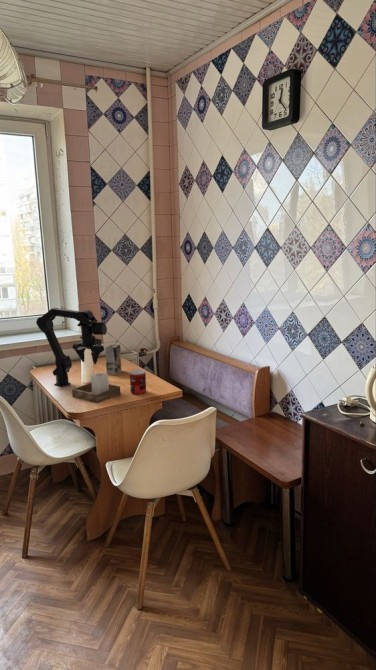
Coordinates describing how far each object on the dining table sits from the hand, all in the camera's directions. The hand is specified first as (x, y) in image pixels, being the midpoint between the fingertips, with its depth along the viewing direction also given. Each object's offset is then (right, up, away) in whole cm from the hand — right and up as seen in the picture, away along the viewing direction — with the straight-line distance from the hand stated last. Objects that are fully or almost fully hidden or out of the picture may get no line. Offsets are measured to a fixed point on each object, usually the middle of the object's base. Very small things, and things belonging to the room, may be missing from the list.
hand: (89, 363), depth 253 cm
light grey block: (+9, -15, -13) cm, 22 cm away
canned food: (+27, -15, -9) cm, 32 cm away
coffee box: (+9, -8, +28) cm, 30 cm away
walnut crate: (+6, -16, -13) cm, 21 cm away
